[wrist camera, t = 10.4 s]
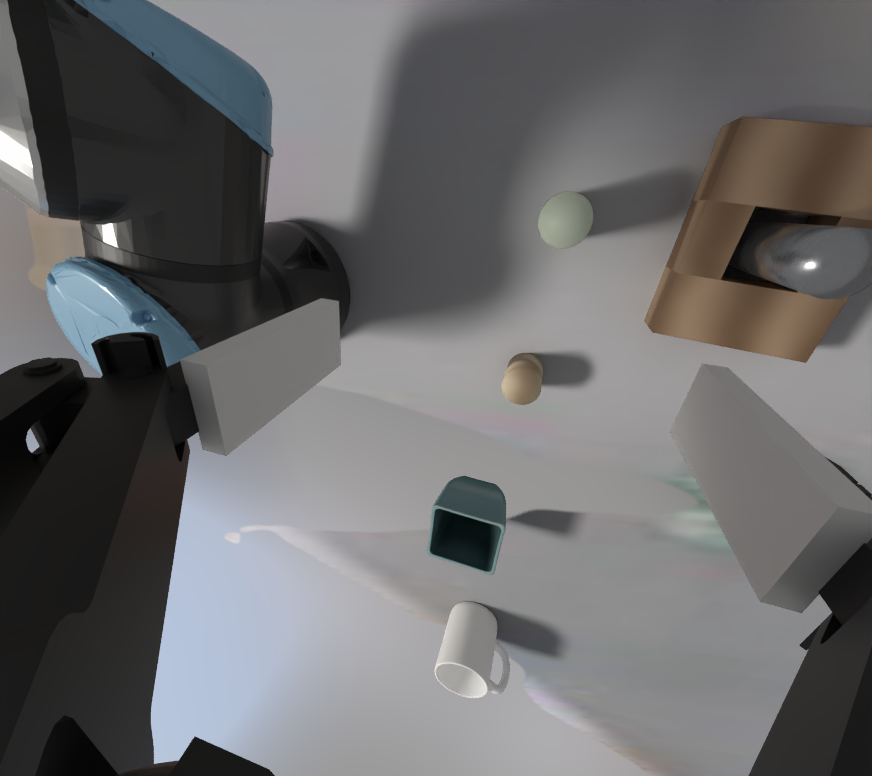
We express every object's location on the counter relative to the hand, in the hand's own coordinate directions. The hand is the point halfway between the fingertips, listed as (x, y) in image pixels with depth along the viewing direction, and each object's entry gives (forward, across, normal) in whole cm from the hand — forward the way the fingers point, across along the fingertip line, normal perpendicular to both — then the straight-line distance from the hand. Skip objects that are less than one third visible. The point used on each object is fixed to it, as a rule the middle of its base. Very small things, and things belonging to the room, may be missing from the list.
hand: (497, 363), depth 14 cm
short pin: (+28, +2, -12) cm, 30 cm away
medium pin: (+28, +2, +4) cm, 28 cm away
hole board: (+27, +18, +4) cm, 33 cm away
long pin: (+27, +18, +4) cm, 33 cm away
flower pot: (+28, 0, -32) cm, 42 cm away
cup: (+27, +5, -60) cm, 66 cm away
